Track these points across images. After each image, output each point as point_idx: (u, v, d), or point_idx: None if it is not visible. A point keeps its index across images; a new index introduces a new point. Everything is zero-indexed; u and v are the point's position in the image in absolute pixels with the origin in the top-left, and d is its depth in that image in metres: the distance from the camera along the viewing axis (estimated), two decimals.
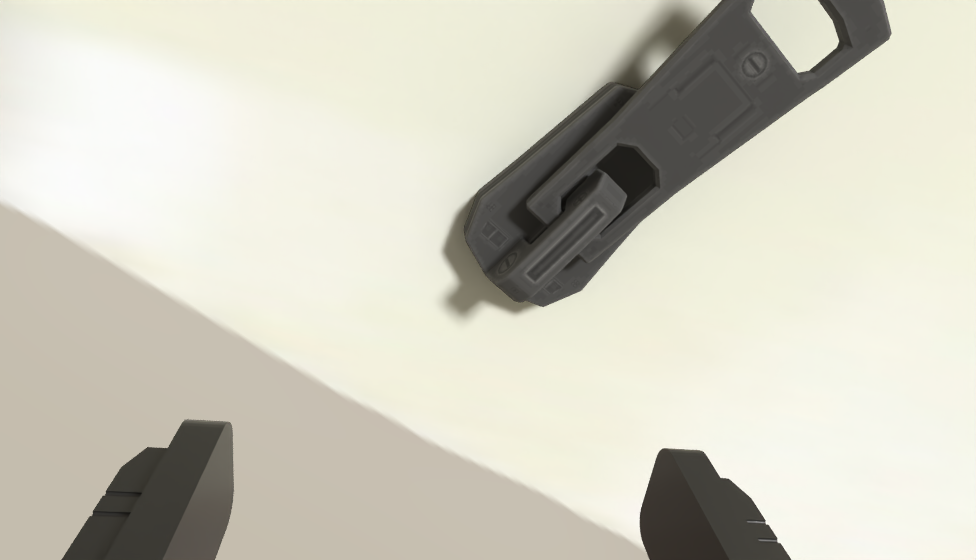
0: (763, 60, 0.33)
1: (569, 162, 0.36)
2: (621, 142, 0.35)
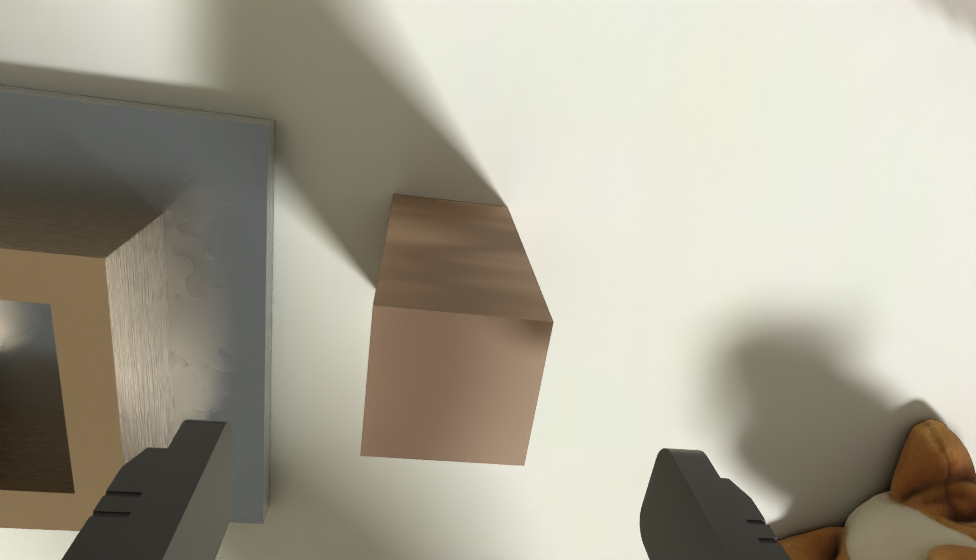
0: None
1: None
2: None
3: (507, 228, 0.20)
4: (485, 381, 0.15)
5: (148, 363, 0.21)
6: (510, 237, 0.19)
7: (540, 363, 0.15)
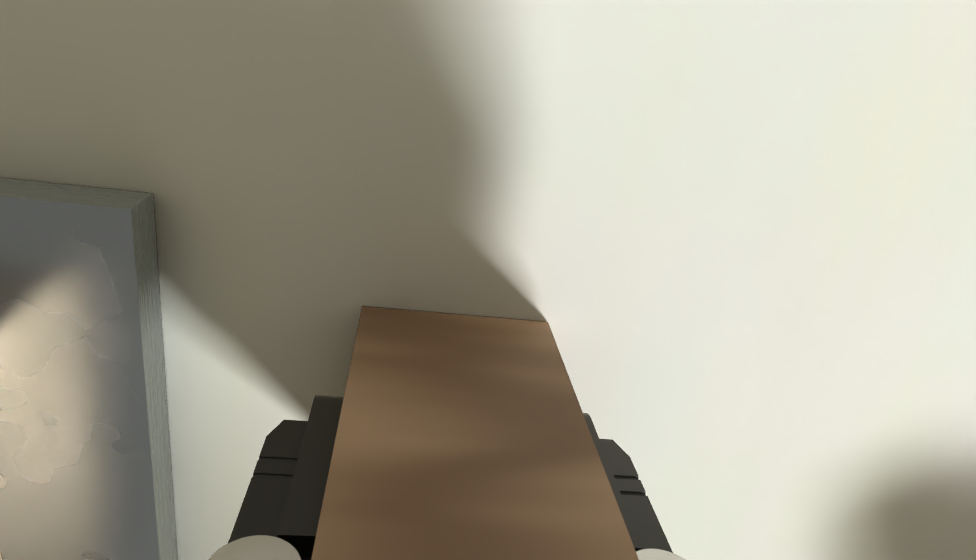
0: None
1: None
2: None
3: (556, 383, 0.12)
4: None
5: None
6: (565, 411, 0.11)
7: None
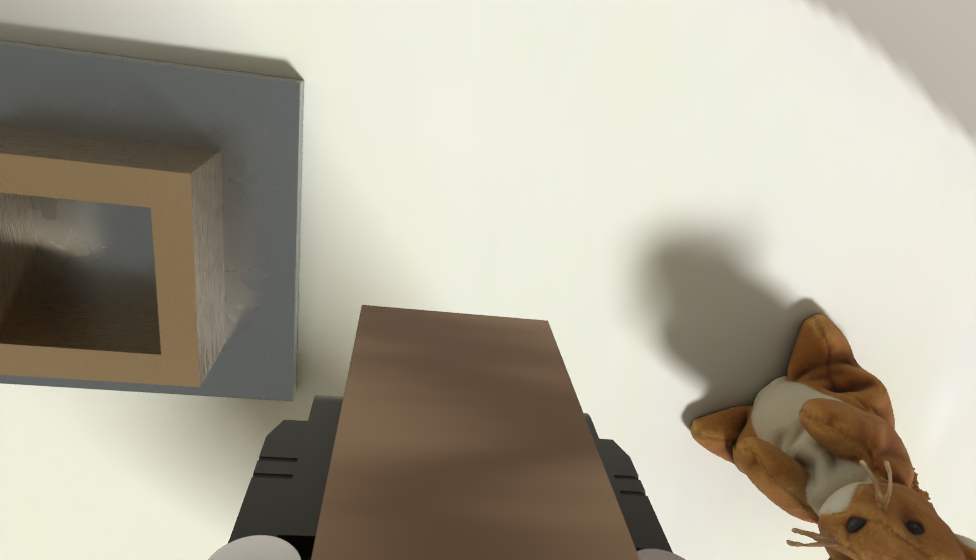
0: None
1: None
2: None
3: (556, 382, 0.12)
4: None
5: (211, 262, 0.28)
6: (565, 409, 0.11)
7: None
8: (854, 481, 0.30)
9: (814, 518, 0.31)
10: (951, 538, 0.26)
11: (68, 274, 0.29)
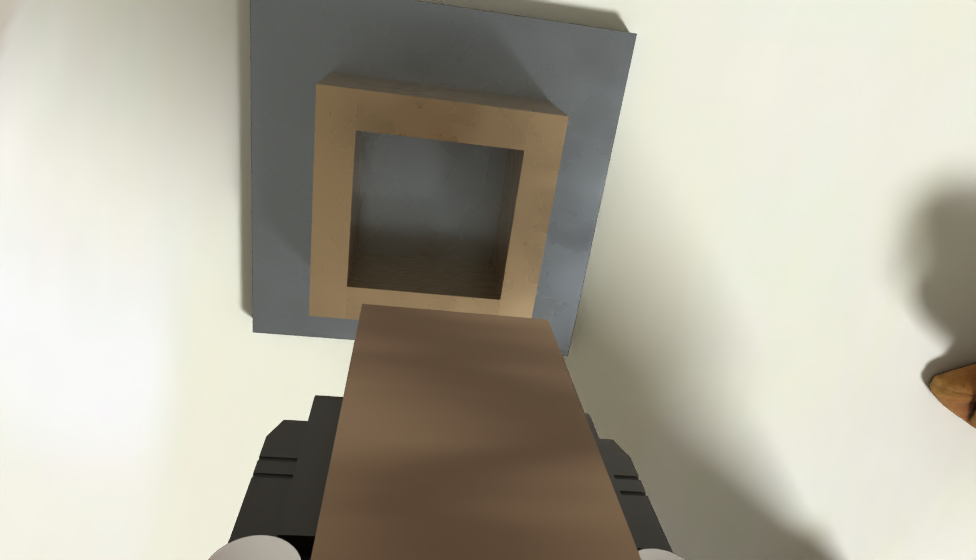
0: None
1: None
2: None
3: (556, 380, 0.12)
4: None
5: None
6: (566, 407, 0.11)
7: None
8: None
9: None
10: None
11: (383, 226, 0.30)
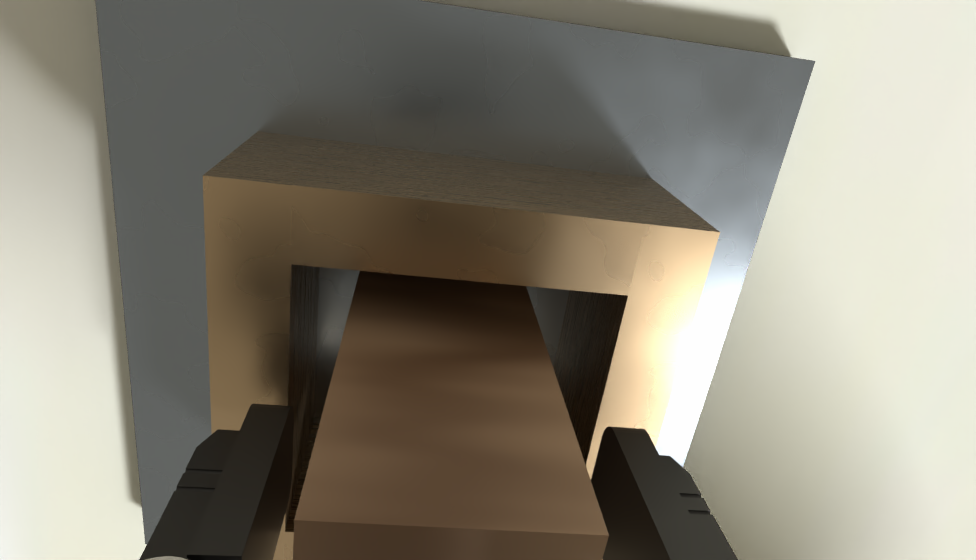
0: None
1: None
2: None
3: (521, 310, 0.14)
4: None
5: None
6: (526, 328, 0.13)
7: None
8: None
9: None
10: None
11: None
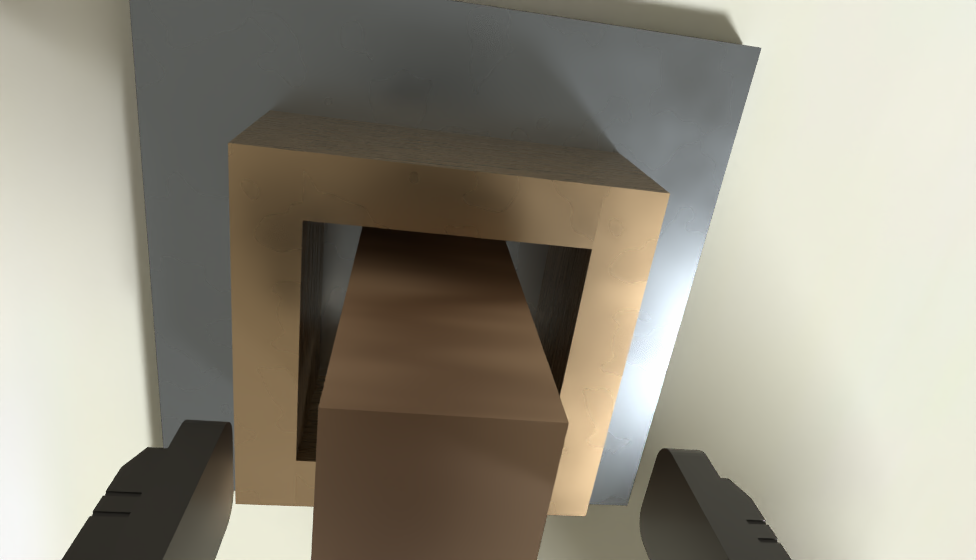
0: None
1: None
2: None
3: (503, 266, 0.16)
4: (476, 498, 0.11)
5: None
6: (507, 280, 0.16)
7: (550, 475, 0.11)
8: None
9: None
10: None
11: None
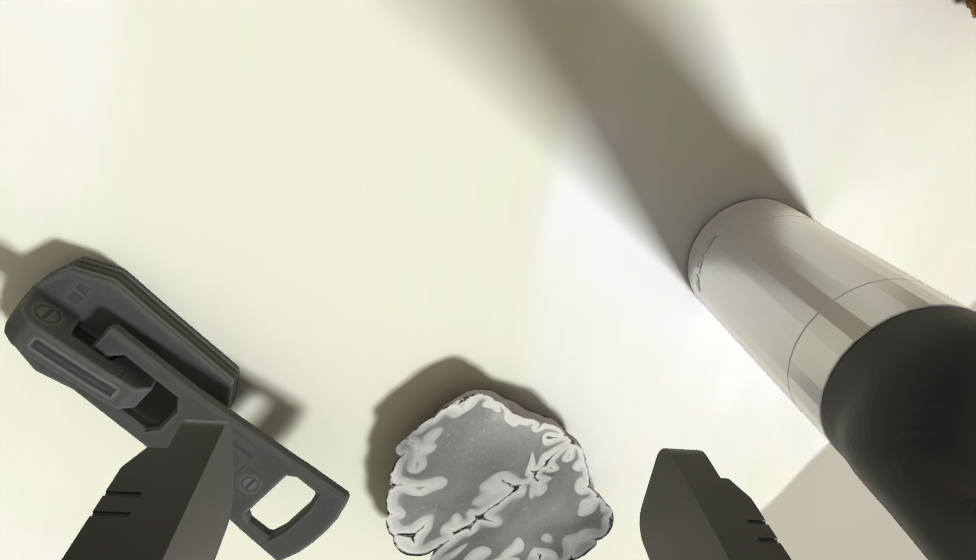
0: (253, 489, 0.44)
1: (156, 360, 0.42)
2: (179, 400, 0.42)
3: None
4: None
5: None
6: None
7: None
8: None
9: None
10: None
11: None
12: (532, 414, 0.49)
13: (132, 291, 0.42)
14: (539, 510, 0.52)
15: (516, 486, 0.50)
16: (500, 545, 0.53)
